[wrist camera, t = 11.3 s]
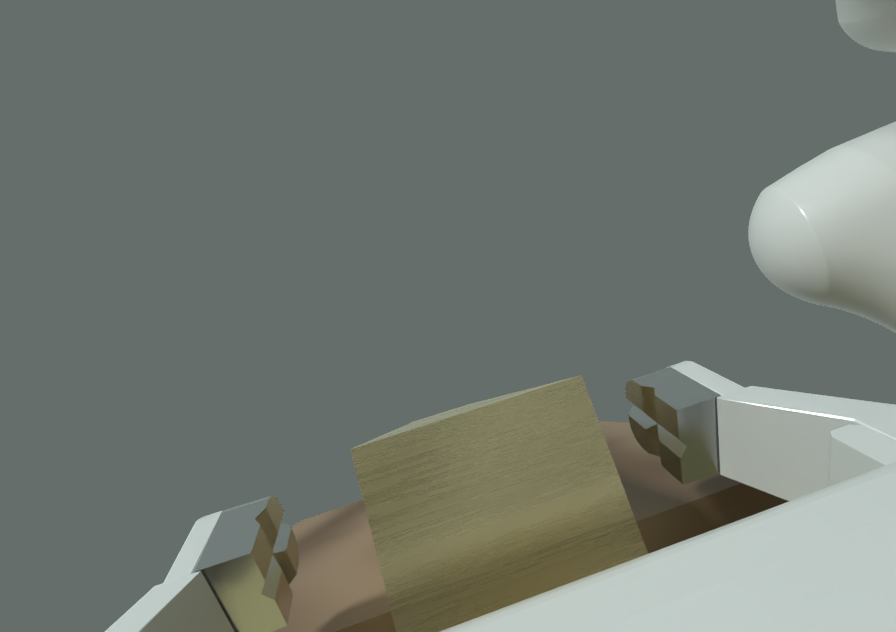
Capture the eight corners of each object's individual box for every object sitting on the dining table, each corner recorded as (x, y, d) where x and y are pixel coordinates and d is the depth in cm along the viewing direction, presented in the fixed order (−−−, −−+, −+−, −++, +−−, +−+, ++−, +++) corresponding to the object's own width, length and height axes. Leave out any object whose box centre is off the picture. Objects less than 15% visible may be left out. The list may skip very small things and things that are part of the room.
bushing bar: (482, 460, 27) (465, 405, 28) (677, 630, 6) (581, 375, 6) (428, 478, 27) (412, 422, 28) (421, 733, 5) (350, 449, 6)
